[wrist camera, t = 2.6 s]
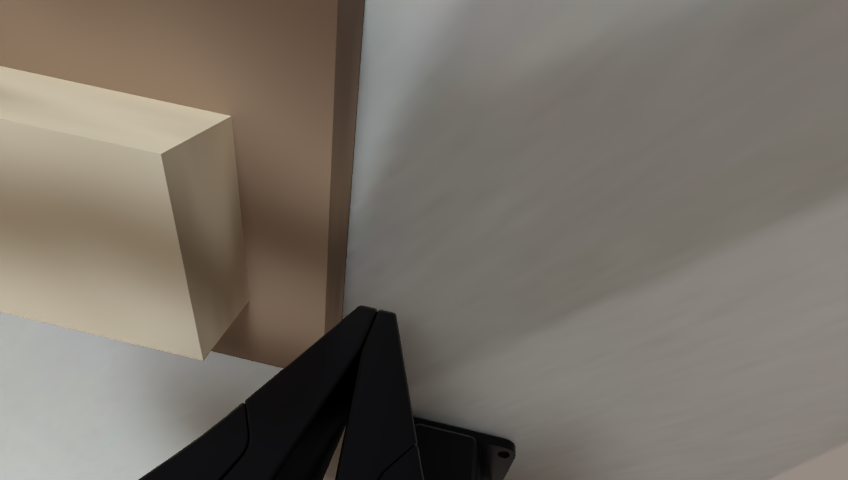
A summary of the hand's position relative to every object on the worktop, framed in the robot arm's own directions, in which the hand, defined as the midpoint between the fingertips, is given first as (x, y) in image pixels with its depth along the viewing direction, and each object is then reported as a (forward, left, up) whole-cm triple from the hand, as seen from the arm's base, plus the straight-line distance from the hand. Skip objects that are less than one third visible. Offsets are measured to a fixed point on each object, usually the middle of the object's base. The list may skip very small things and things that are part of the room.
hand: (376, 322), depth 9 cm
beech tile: (0, +9, -1) cm, 9 cm away
